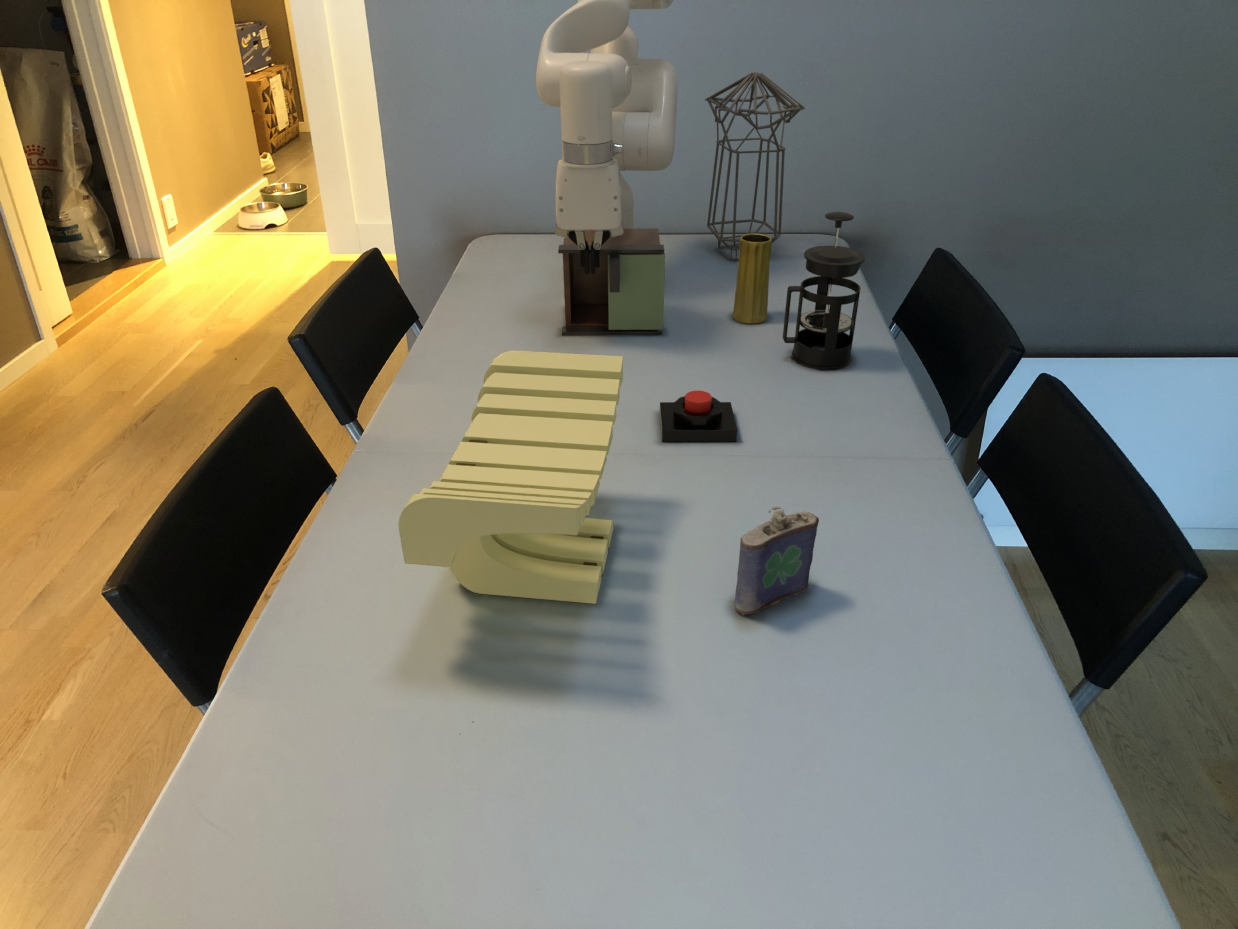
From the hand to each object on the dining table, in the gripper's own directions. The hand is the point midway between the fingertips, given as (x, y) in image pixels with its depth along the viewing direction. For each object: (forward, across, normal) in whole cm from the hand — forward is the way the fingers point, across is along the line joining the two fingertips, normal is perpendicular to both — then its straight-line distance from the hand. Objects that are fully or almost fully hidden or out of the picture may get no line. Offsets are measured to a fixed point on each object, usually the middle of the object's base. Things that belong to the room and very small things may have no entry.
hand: (590, 271), depth 139 cm
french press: (+12, -36, +8) cm, 39 cm away
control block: (+12, -15, +30) cm, 36 cm away
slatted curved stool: (+12, +6, +59) cm, 60 cm away
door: (+11, -7, 0) cm, 13 cm away
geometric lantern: (+12, -31, -44) cm, 55 cm away
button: (+9, -15, +30) cm, 35 cm away
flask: (+12, -19, +66) cm, 69 cm away
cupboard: (+12, -3, -8) cm, 15 cm away
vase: (+12, -28, -9) cm, 31 cm away
